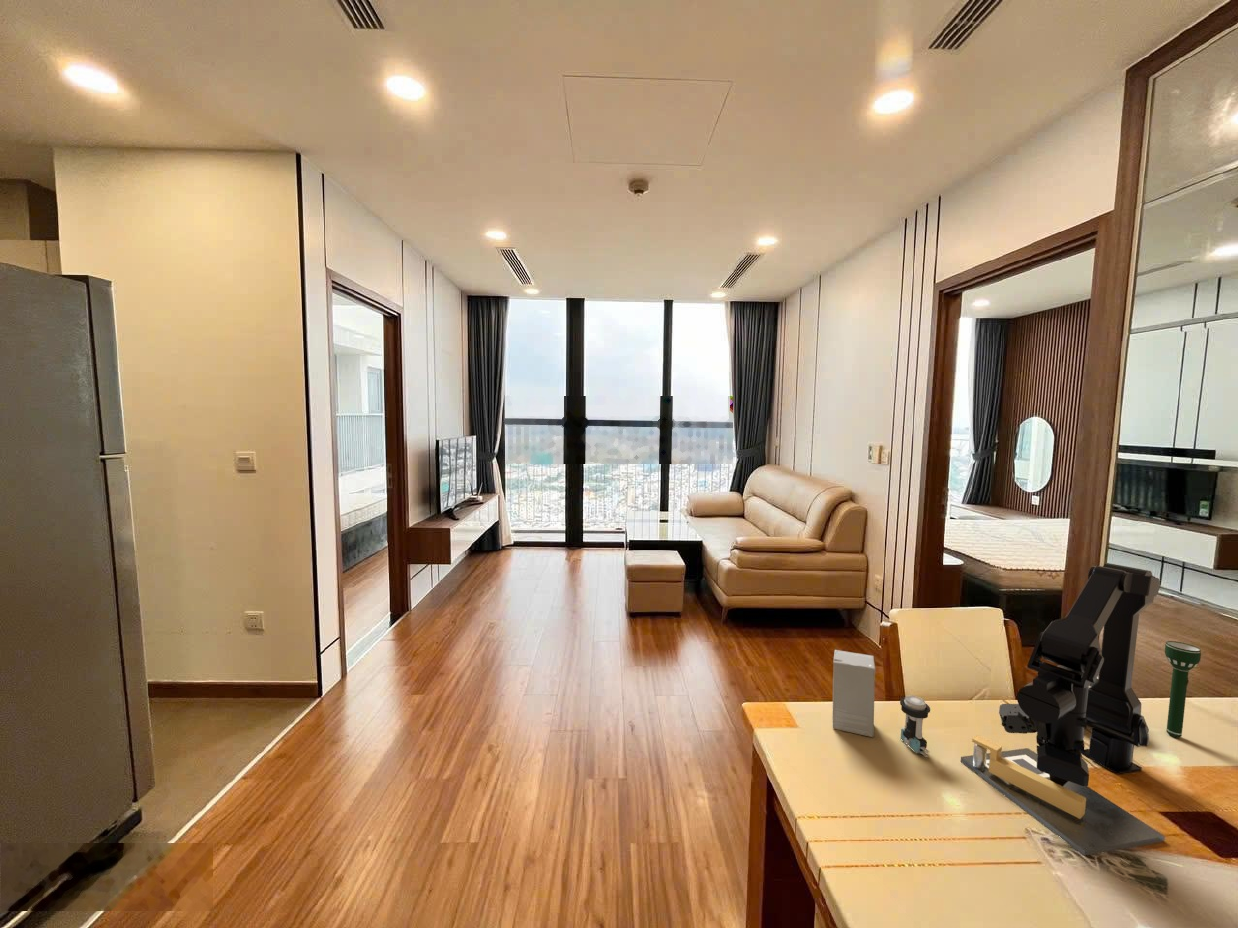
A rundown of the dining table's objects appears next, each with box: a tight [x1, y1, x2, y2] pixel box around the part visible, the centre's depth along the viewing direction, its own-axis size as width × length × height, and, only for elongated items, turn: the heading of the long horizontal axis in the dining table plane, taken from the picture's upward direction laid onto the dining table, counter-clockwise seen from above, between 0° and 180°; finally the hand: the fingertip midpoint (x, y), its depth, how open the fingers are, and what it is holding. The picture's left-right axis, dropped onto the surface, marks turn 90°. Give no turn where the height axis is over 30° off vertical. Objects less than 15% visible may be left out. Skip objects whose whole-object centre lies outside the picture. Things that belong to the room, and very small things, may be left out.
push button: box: [899, 695, 931, 758], centre depth 101 cm, size 7×5×10 cm
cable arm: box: [971, 735, 1086, 819], centre depth 89 cm, size 16×2×5 cm, turn 32°
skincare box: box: [832, 649, 876, 738], centre depth 108 cm, size 8×7×16 cm
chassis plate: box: [960, 747, 1166, 857], centre depth 88 cm, size 16×22×1 cm
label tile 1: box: [1005, 755, 1050, 779], centre depth 95 cm, size 5×6×1 cm
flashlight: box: [1164, 640, 1202, 738], centre depth 107 cm, size 5×5×20 cm
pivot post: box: [972, 742, 988, 770], centre depth 95 cm, size 2×2×5 cm
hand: (1055, 787), depth 87 cm, fingers closed
